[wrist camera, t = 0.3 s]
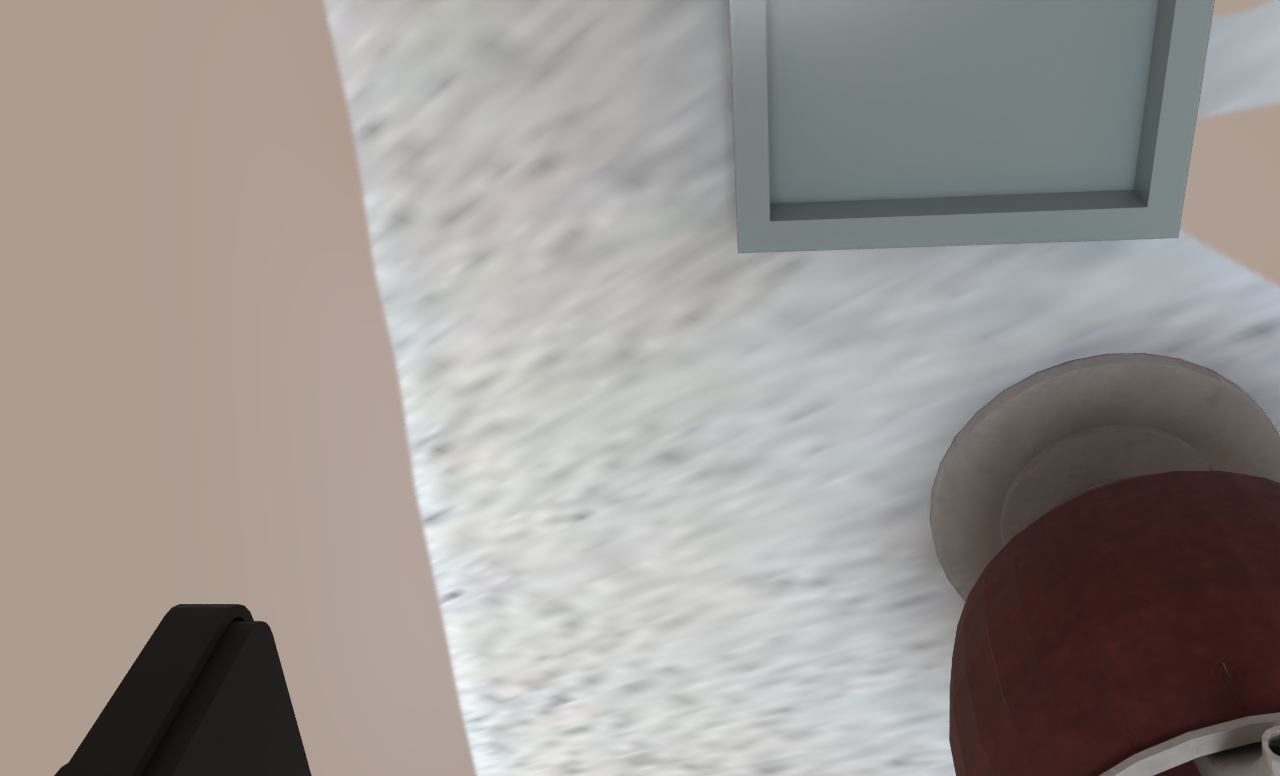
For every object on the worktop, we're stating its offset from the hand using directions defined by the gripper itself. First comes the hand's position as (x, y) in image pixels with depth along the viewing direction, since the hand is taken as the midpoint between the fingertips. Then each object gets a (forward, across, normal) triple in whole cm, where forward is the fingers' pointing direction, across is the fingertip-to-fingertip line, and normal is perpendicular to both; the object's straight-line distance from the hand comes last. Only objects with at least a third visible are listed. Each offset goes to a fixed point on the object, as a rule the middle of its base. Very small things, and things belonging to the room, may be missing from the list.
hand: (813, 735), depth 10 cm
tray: (+30, -5, 0) cm, 30 cm away
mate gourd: (+30, -11, +17) cm, 36 cm away
